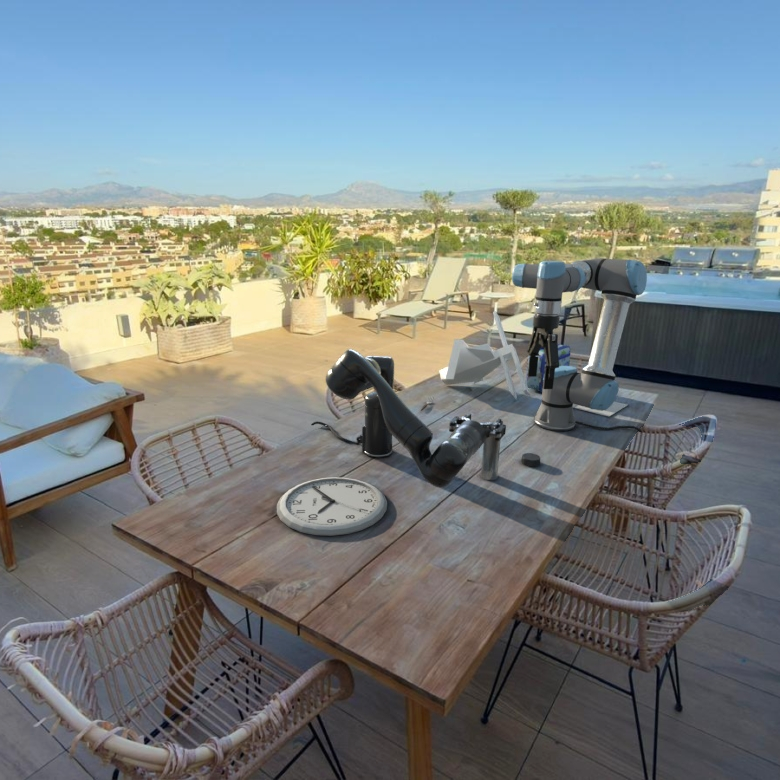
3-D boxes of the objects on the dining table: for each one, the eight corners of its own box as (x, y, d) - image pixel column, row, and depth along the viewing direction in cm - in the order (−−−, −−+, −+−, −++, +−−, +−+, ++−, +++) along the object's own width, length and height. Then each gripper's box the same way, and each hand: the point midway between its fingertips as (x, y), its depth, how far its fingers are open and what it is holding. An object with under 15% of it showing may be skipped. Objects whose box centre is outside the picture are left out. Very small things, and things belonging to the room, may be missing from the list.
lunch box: (542, 395, 240) (547, 351, 233) (522, 390, 247) (526, 347, 241) (569, 384, 257) (575, 343, 251) (550, 380, 264) (554, 339, 258)
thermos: (478, 473, 163) (482, 422, 158) (493, 472, 164) (497, 421, 159) (484, 480, 158) (488, 428, 153) (499, 479, 159) (504, 427, 154)
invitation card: (608, 416, 214) (573, 407, 224) (608, 416, 214) (573, 408, 224) (628, 404, 229) (594, 396, 238) (628, 405, 229) (594, 397, 238)
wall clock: (392, 527, 129) (268, 531, 127) (391, 533, 130) (269, 537, 127) (383, 473, 158) (282, 475, 155) (383, 478, 158) (282, 480, 156)
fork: (417, 411, 216) (418, 406, 216) (428, 400, 231) (428, 395, 230) (423, 412, 215) (424, 407, 215) (434, 400, 230) (434, 396, 229)
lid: (526, 467, 167) (527, 461, 167) (518, 460, 173) (518, 453, 172) (543, 466, 169) (543, 459, 168) (534, 458, 174) (534, 452, 173)
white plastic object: (461, 429, 252) (437, 405, 227) (444, 352, 274) (420, 323, 250) (535, 404, 240) (518, 377, 215) (510, 326, 262) (492, 293, 237)
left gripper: (495, 430, 127) (511, 410, 141) (440, 420, 133) (460, 402, 147) (493, 458, 129) (509, 436, 143) (439, 447, 135) (459, 427, 149)
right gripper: (520, 308, 168) (515, 371, 174) (550, 321, 144) (542, 394, 150) (543, 308, 168) (536, 371, 175) (576, 321, 145) (567, 394, 151)
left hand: (484, 419), depth 145 cm, fingers open, 8 cm apart
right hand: (539, 382), depth 163 cm, fingers open, 13 cm apart
